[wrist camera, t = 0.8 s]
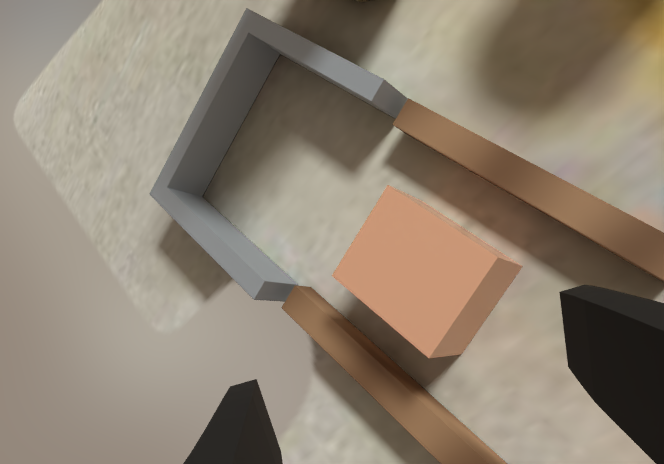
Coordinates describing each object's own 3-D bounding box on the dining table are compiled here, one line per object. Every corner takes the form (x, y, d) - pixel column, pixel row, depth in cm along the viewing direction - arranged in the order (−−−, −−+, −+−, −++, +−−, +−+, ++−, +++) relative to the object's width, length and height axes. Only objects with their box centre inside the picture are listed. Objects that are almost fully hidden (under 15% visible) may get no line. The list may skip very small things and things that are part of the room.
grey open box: (410, 100, 29) (383, 79, 26) (288, 301, 31) (253, 299, 29) (277, 30, 35) (246, 8, 32) (185, 203, 37) (149, 194, 35)
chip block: (523, 266, 24) (497, 257, 21) (462, 354, 25) (428, 358, 22) (423, 201, 27) (387, 184, 24) (373, 281, 28) (332, 275, 25)
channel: (692, 253, 21) (692, 248, 19) (501, 502, 23) (490, 512, 22) (420, 108, 28) (408, 98, 27) (297, 308, 31) (281, 307, 29)
